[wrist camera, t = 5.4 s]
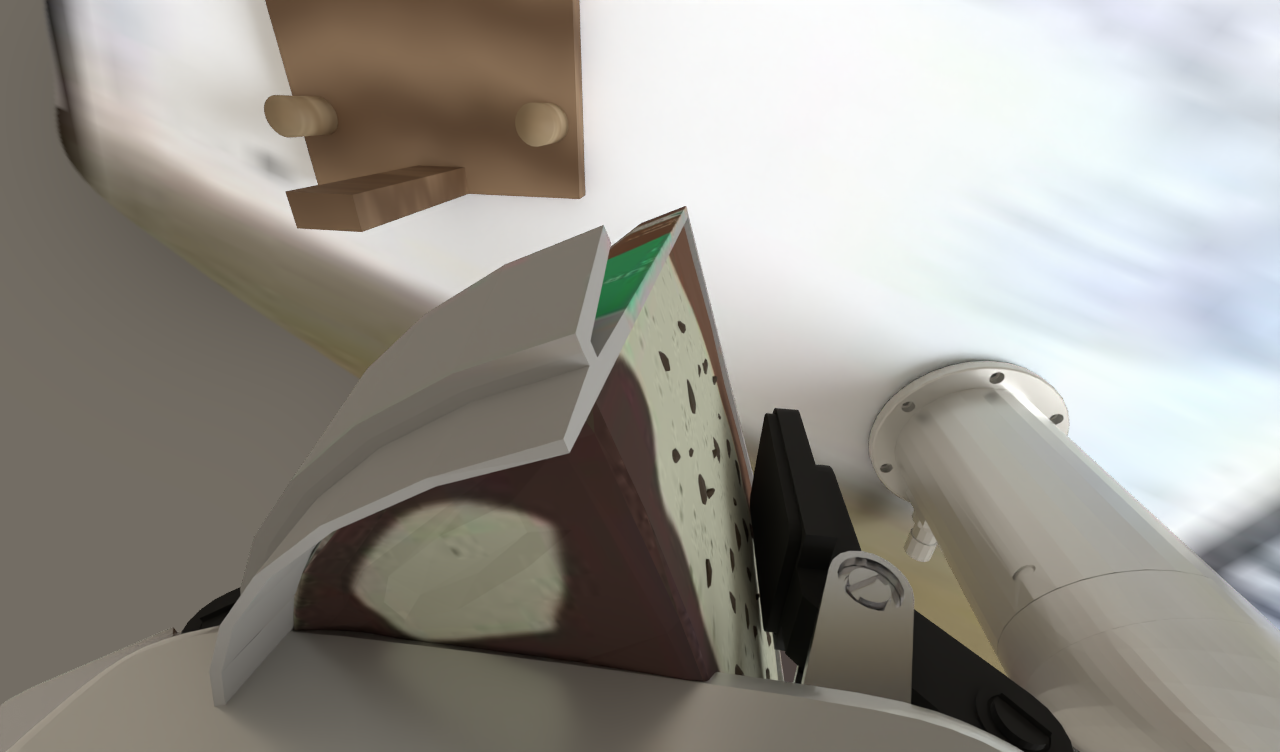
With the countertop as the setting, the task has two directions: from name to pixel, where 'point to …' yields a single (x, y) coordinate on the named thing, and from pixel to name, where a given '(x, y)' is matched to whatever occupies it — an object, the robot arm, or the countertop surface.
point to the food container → (530, 480)
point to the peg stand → (428, 103)
